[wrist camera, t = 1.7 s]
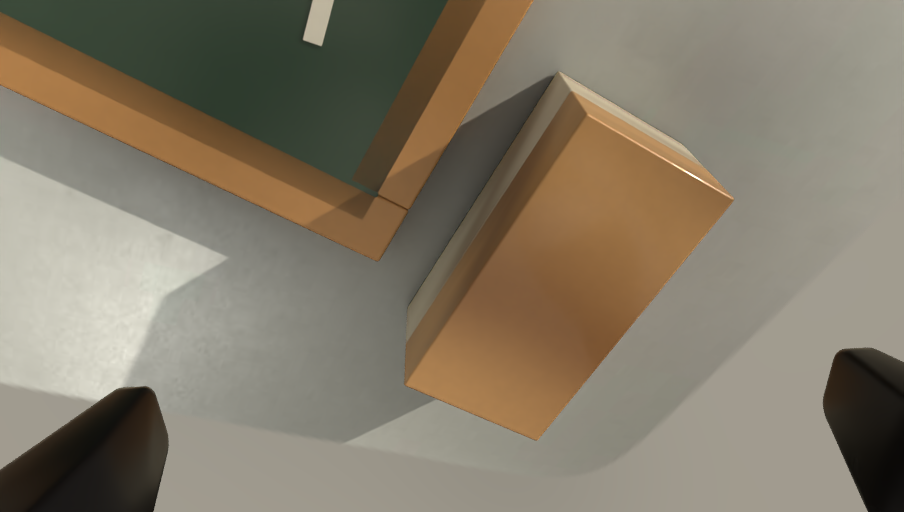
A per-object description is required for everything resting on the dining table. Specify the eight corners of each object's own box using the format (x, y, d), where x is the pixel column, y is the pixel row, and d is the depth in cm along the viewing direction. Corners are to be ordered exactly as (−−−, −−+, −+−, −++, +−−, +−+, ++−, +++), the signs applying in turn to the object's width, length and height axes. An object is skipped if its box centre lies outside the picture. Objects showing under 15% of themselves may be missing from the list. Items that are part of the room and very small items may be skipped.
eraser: (557, 70, 20) (586, 112, 16) (683, 144, 21) (735, 199, 17) (406, 308, 23) (403, 385, 20) (520, 360, 24) (537, 442, 21)
